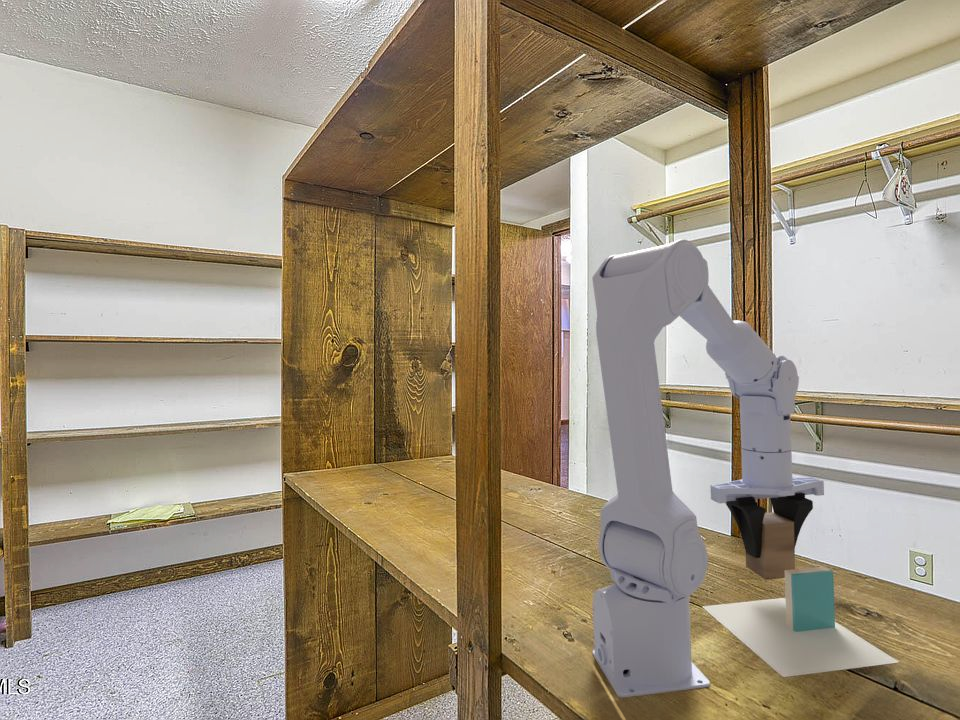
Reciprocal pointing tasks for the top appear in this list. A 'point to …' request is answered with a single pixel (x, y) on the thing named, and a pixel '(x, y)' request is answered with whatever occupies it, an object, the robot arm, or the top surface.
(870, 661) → the mat
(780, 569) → the walnut block
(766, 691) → the top surface
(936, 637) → the top surface
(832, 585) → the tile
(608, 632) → the robot arm
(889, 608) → the top surface
